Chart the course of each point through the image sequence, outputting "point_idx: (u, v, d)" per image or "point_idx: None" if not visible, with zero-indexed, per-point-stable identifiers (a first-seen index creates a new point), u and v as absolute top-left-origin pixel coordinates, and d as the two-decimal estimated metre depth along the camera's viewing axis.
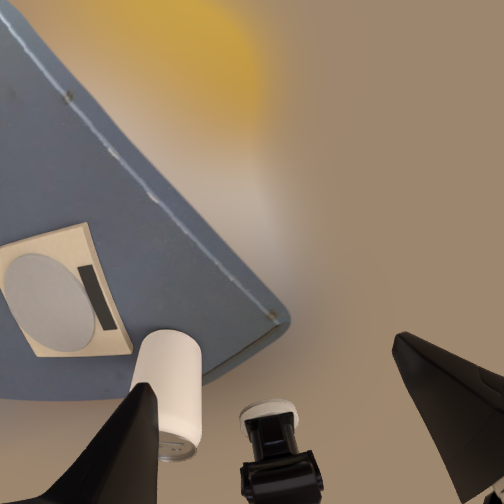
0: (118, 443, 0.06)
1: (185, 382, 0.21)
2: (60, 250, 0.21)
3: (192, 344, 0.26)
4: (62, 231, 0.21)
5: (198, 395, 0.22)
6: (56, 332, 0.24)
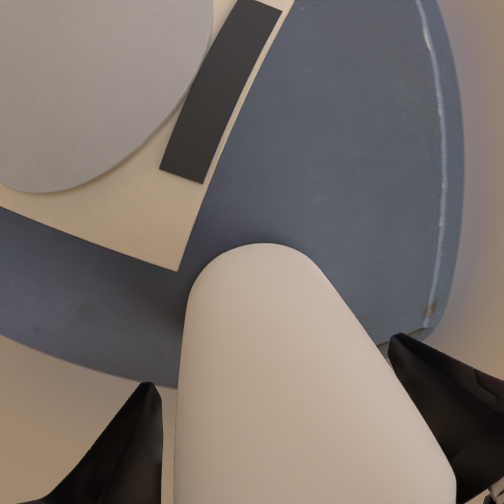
0: (123, 443, 0.06)
1: None
2: None
3: None
4: None
5: None
6: (24, 119, 0.07)
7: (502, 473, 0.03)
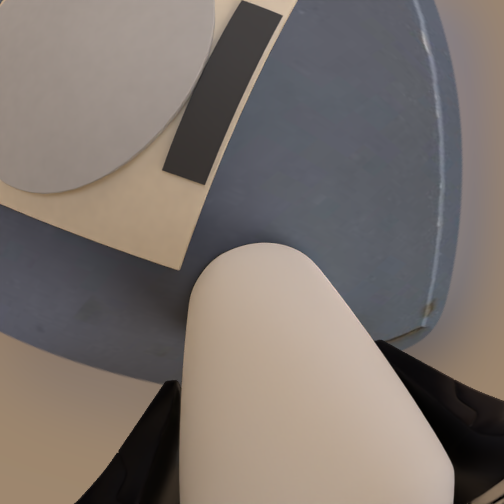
0: (154, 444, 0.06)
1: None
2: None
3: None
4: None
5: None
6: (29, 120, 0.07)
7: (480, 491, 0.03)
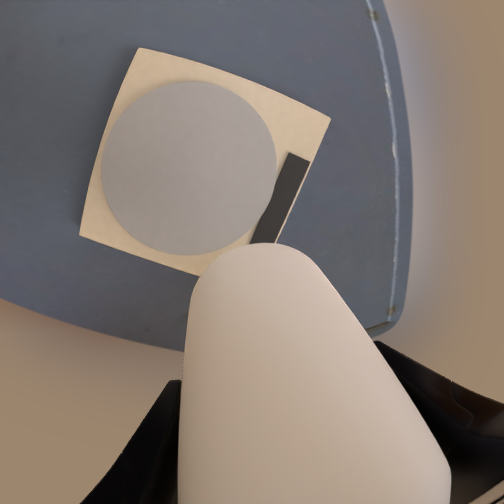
0: (158, 444, 0.06)
1: None
2: (282, 120, 0.17)
3: None
4: (302, 104, 0.17)
5: None
6: (169, 214, 0.18)
7: (477, 493, 0.03)
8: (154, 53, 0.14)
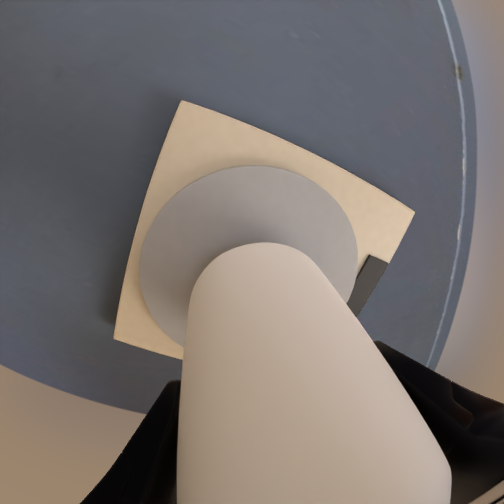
0: (158, 444, 0.06)
1: None
2: (367, 217, 0.14)
3: None
4: (389, 196, 0.14)
5: None
6: None
7: (477, 493, 0.03)
8: (206, 113, 0.11)
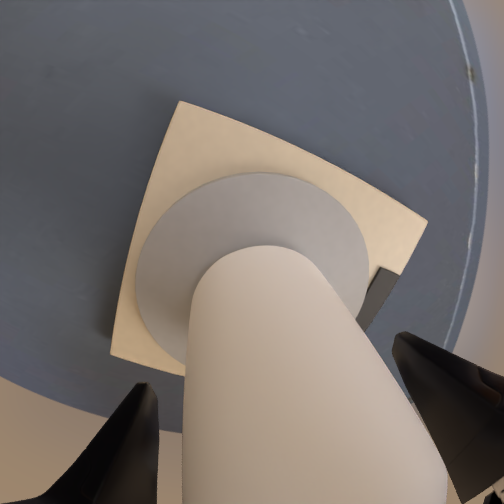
0: (118, 443, 0.06)
1: None
2: (379, 228, 0.13)
3: None
4: (402, 205, 0.13)
5: None
6: None
7: None
8: (207, 114, 0.10)
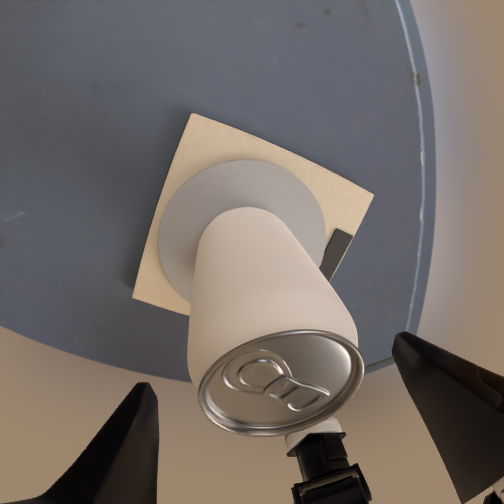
0: (118, 443, 0.06)
1: None
2: (332, 198, 0.19)
3: None
4: (350, 182, 0.19)
5: None
6: None
7: None
8: (209, 122, 0.16)
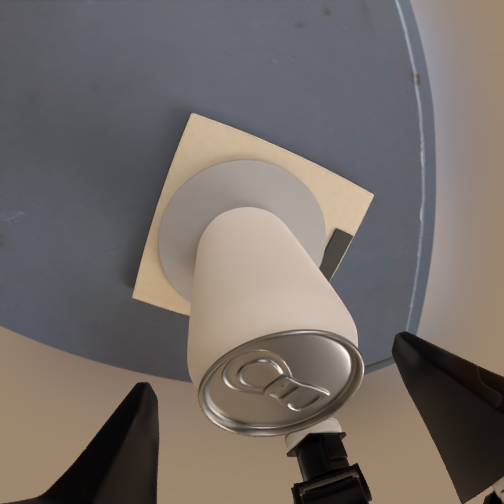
0: (118, 443, 0.06)
1: None
2: (332, 198, 0.19)
3: None
4: (350, 182, 0.19)
5: None
6: None
7: None
8: (209, 122, 0.16)
